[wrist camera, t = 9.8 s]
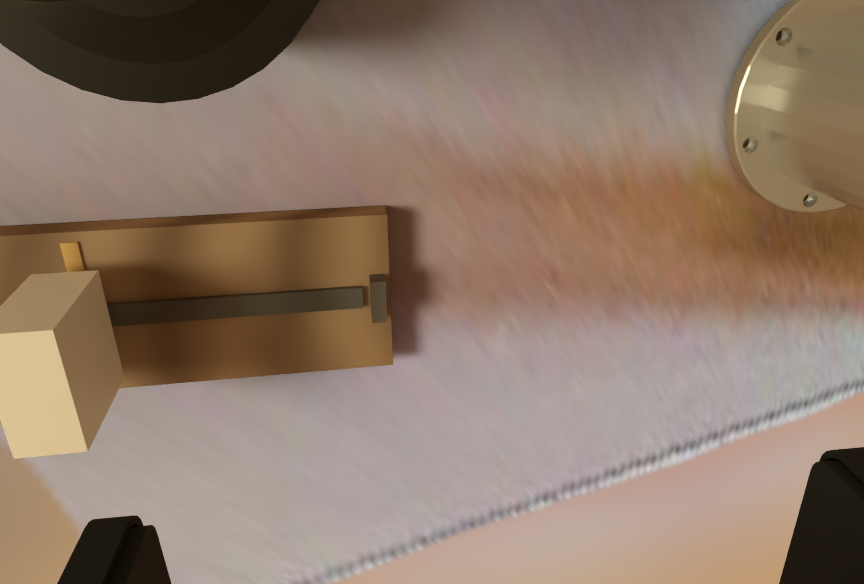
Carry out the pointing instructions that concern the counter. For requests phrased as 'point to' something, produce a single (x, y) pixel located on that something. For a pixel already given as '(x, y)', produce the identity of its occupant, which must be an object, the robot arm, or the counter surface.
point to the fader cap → (56, 363)
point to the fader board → (226, 289)
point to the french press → (151, 42)
